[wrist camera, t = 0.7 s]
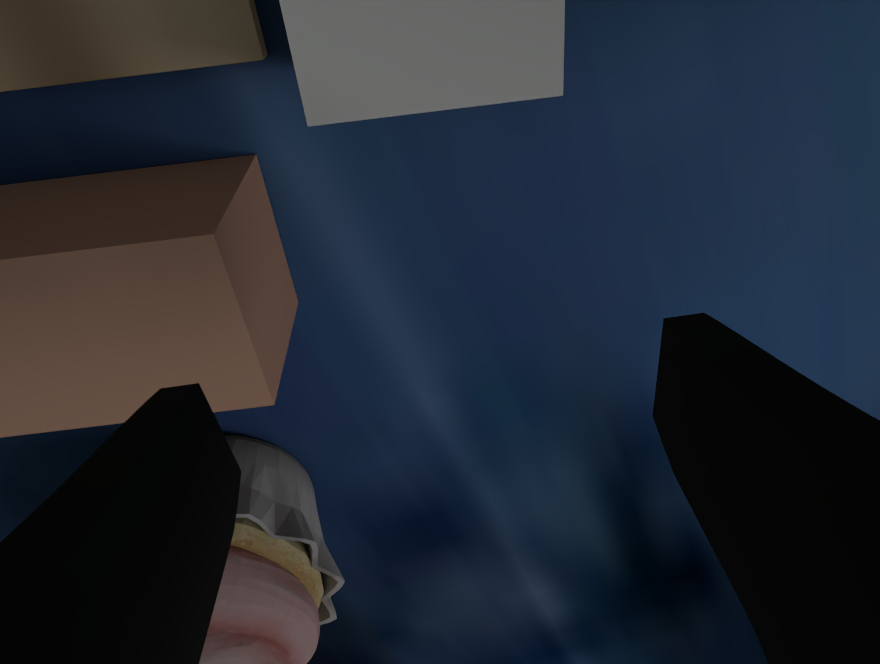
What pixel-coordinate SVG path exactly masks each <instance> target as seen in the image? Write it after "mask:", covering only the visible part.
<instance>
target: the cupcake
mask: <svg viewBox="0 0 880 664" xmlns="http://www.w3.org/2000/svg"><path fill="white" fill-rule="evenodd" d="M224 436H225V438H226V440H227V442H228V444H229V446H230V449H231V451H232V453H233V455H234V457H235V459H236V461H237V463H238V465H239V467H240V469H241V480H240V489H239V498H238V507H237V514H236V520H235V527H234V533H233V537H232V541H231V545H230V549H229V553H228V557H227V561H226V565H225V568H224V572H223V576H222V580H221V584H220V587H219V591H218V595H217V599H216V602H215V606H214V610H213V613H212V617H211V621H210V625H209V628H208V632H207V636H206V639H205V643H204V647H203V651H202V654H201V658H200V662H199V664H307V663H308V661H309V660H310V659H311V657H312V656H313V654H314V652H315V650H316V647H317V643H318V638H319V631H320V625H322V624H325V623H329V622H331V621H333V620H335V619H337V617H336V612H335V609H334V606H333V603H332V601H331V598H330V597H331V596H332V595H333V594H334V593H335V592H337V591H338V590H339V589H340V588H341V587H342V586H343V584H344V582H345V581H344V579H343V577H342V575H341V573H340V571H339V569H338V567H337V566H336V564H335V562H334V560H333V558H332V556H331V554H330V553H329V551H328V549H327V547H326V545H325V543H324V540H323V535H322V531H321V526H320V522H319V517H318V513H317V507H316V500H315V493H314V488H313V485H312V482H311V480H310V478H309V476H308V474H307V472H306V470H305V469H304V467H303V466H302V465H301V464H300V463H299V462H298V461H297V460H296V459H295V458H294V457H292V456H291V455H290V454H288V453H287V452H285V451H284V450H282V449H281V448H279V447H277V446H275V445H272V444H270V443H267V442H264V441H261V440H258V439H253V438H249V437H244V436H239V435H224Z"/></svg>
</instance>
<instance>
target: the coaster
mask: <svg viewBox="0 0 880 664" xmlns="http://www.w3.org/2000/svg"><path fill="white" fill-rule="evenodd" d="M267 55H268V54H267V50H266V46H265V42H264V38H263V34H262V30H261V26H260V22H259V18H258V14H257V10H256V6H255V2H254V0H0V92H4V91H12V90H20V89H28V88H36V87H45V86H53V85H61V84H69V83H77V82H86V81H94V80H102V79H110V78H118V77H127V76H135V75H143V74H151V73H159V72H168V71H176V70H184V69H192V68H200V67H209V66H217V65H225V64H233V63H241V62H250V61H258V60H264V59H265V57H266V56H267Z"/></svg>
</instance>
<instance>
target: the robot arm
mask: <svg viewBox="0 0 880 664" xmlns="http://www.w3.org/2000/svg"><path fill="white" fill-rule="evenodd" d="M653 418H654V421H655V424H656V426H657V429H658V432H659V435H660V438H661V441H662V444H663V446H664V449H665V452H666V454H667V457H668V459H669V462H670V465H671V467H672V470H673V473H674V475H675V477H676V479H677V481H678V483H679V485H680V487H681V489H682V491H683V492H684V494H685V496H686V498H687V500H688V502H689V504H690V506H691V508H692V510H693V512H694V514H695V516H696V518H697V520H698V521H699V523H700V525H701V527H702V529H703V531H704V533H705V535H706V537H707V539H708V540H709V542H710V544H711V546H712V548H713V550H714V552H715V554H716V556H717V558H718V560H719V561H720V563H721V565H722V567H723V569H724V571H725V573H726V575H727V577H728V579H729V580H730V582H731V584H732V586H733V588H734V590H735V592H736V594H737V596H738V598H739V600H740V601H741V603H742V605H743V607H744V609H745V611H746V614H747V616H748V618H749V620H750V622H751V624H752V626H753V628H754V630H755V633H756V635H757V637H758V639H759V641H760V644H761V646H762V649H763V651H764V654H765V656H766V658H767V661H768V663H769V664H880V421H879V420H878V419H876V418H874V417H872V416H870V415H869V414H867V413H865V412H863V411H862V410H860V409H858V408H857V407H855V406H853V405H851V404H850V403H848V402H846V401H845V400H843V399H841V398H840V397H838V396H836V395H835V394H833V393H831V392H830V391H828V390H826V389H825V388H823V387H821V386H820V385H818V384H816V383H815V382H813V381H812V380H810V379H808V378H807V377H805V376H804V375H802V374H800V373H799V372H797V371H796V370H794V369H792V368H791V367H789V366H788V365H786V364H784V363H783V362H781V361H780V360H778V359H777V358H775V357H774V356H772V355H770V354H769V353H767V352H766V351H764V350H763V349H761V348H760V347H758V346H756V345H755V344H753V343H752V342H750V341H749V340H747V339H746V338H744V337H742V336H741V335H739V334H738V333H736V332H735V331H733V330H732V329H730V328H728V327H727V326H725V325H724V324H722V323H720V322H719V321H717V320H715V319H714V318H712V317H710V316H709V315H707V314H705V313H699V314H692V315H685V316H678V317H671V318H664V321H663V330H662V338H661V347H660V356H659V365H658V374H657V382H656V391H655V400H654V409H653ZM240 480H241V469H240V467H239V465H238V463H237V461H236V459H235V457H234V455H233V453H232V451H231V449H230V446H229V444H228V442H227V440H226V438H225V436H224V434H223V432H222V430H221V428H220V426H219V424H218V422H217V419H216V417H215V415H214V413H213V411H212V409H211V407H210V405H209V403H208V401H207V399H206V397H205V395H204V393H203V390H202V388H201V386H200V384H199V383H196V384H188V385H181V386H174V387H167V388H160V389H159V390H158V391H157V392H156V393H155V394H154V395H153V396H151V397H150V398H149V399H148V400H147V401H146V402H145V403H144V404H143V405H142V406H141V407H140V408H139V409H138V410H137V411H136V412H135V413H134V414H132V415H131V416H130V417H129V418H128V419H127V420H126V421H125V422H124V423H123V424H122V425H121V426H120V427H119V428H118V429H117V430H116V431H115V432H114V433H113V434H112V435H111V436H110V437H109V438H108V439H107V440H106V441H105V442H104V443H103V444H102V445H101V446H100V447H99V448H98V449H97V450H96V451H95V452H94V453H93V454H92V455H91V456H90V457H89V458H88V459H87V460H86V461H85V462H84V463H83V464H82V465H81V466H80V467H79V468H78V469H77V470H76V471H75V472H74V473H73V474H72V475H71V476H70V477H69V478H68V479H67V480H66V481H65V482H64V483H63V484H62V485H61V486H60V487H59V488H58V489H57V490H56V491H55V492H54V493H53V494H52V495H51V496H50V497H49V498H48V499H47V500H46V501H45V502H44V503H42V504H41V505H40V506H39V507H38V508H37V509H36V510H35V511H34V512H33V513H32V514H31V515H29V516H28V517H27V518H26V519H25V520H24V521H23V522H22V523H21V524H20V525H19V526H18V527H16V528H15V529H14V530H13V531H12V532H11V533H10V534H9V535H8V536H7V537H6V538H5V539H4V540H2V541H1V542H0V664H199V662H200V658H201V654H202V651H203V647H204V643H205V639H206V636H207V632H208V628H209V625H210V621H211V617H212V613H213V610H214V606H215V602H216V599H217V595H218V591H219V587H220V584H221V580H222V576H223V572H224V568H225V565H226V561H227V557H228V553H229V549H230V545H231V541H232V537H233V533H234V527H235V520H236V514H237V507H238V498H239V489H240Z"/></svg>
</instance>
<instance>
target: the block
mask: <svg viewBox="0 0 880 664" xmlns="http://www.w3.org/2000/svg"><path fill="white" fill-rule="evenodd" d="M279 2H280V6H281V11H282V15H283V20H284V24H285V28H286V33H287V37H288V42H289V46H290V50H291V55H292V59H293V64H294V68H295V72H296V77H297V81H298V86H299V90H300V94H301V99H302V103H303V108H304V112H305V116H306V121H307V125H308V126H316V125H325V124H333V123H341V122H349V121H358V120H366V119H374V118H382V117H391V116H399V115H407V114H415V113H424V112H432V111H440V110H448V109H457V108H465V107H473V106H481V105H490V104H498V103H506V102H514V101H523V100H531V99H539V98H547V97H556V96H563V71H564V21H565V0H279Z"/></svg>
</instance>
